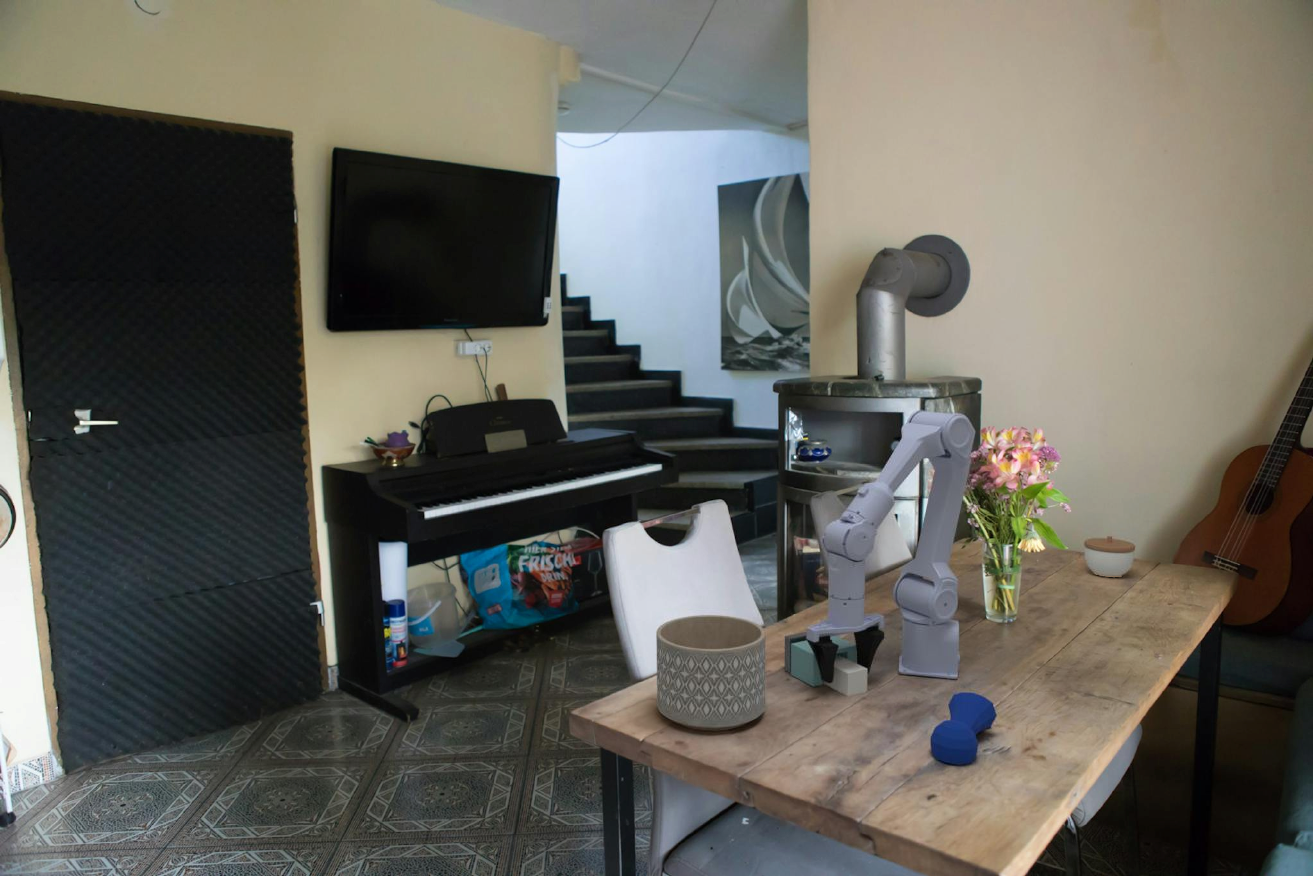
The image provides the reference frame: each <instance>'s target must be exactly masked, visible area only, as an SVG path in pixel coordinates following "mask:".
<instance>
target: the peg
mask: <svg viewBox="0 0 1313 876" xmlns="http://www.w3.org/2000/svg"><path fill="white" fill-rule="evenodd" d="M823 684H824V685H825V686H828V687H829V688H831V689H833V690H835V691H837V692H839V693H841V694H842V695H845V696H846V697H850V696H854V695H858V694H862V693H866V692H868V674H867V668H865V667H863V666H860V665H858V664H857V662H856V663H854V662H852V661H850V660H848V659H846V658H844V657H841V656H839V655H837V654H836V657H835V662H834V678H833V682H832V683H827V682H825V681H823Z"/></svg>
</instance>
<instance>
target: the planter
mask: <svg viewBox="0 0 1313 876" xmlns="http://www.w3.org/2000/svg"><path fill="white" fill-rule="evenodd" d="M655 633H656V700H657V701H656V702H657V703H656V705H657V709H658V711H659V712H660V714H662V715H663V716H664V717H666V718H667V719H669V720H671V721H673V722H674V723H676V724H678V725H680V726H681V727H682V726H683V727H686V728H688V729H692V730H697V731H698V730H699V731H712V732H715V731H726V730H733V729H736V728H739V727H742V726H744V725H746V724H748V723H749V722H751V721H754V720H755V719H757V718H759V717H760V716H761V715H762V714H763V713H764V711H765V709H766V632H765V629H764V627H763V626H761V625H760V624H758V623H756V622H754V621H752V620H748V619H745V618H740V617H736V616H729V615H720V614H719V615H717V614H703V615H702V614H700V615H691V616H684V617H679V618H675V619H671V620H669V621H667V622H665V623H663V624H661V625H659V627H658V628H657V629H656V632H655Z"/></svg>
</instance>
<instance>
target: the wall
mask: <svg viewBox="0 0 1313 876" xmlns="http://www.w3.org/2000/svg"><path fill="white" fill-rule="evenodd" d="M806 633H807V631H804V632H799V633H794V634H789V635H784V671H785V672H787V673H789V674H791V644H792V643H797V642H802V641H807V639H806Z"/></svg>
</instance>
